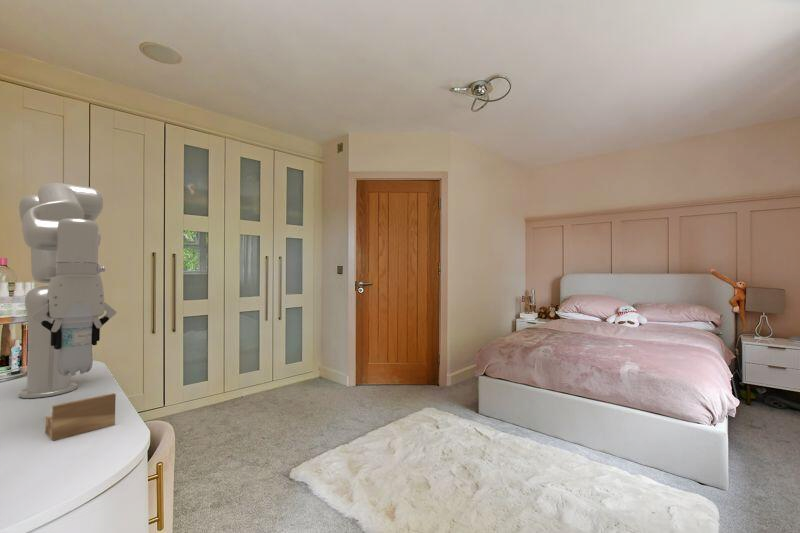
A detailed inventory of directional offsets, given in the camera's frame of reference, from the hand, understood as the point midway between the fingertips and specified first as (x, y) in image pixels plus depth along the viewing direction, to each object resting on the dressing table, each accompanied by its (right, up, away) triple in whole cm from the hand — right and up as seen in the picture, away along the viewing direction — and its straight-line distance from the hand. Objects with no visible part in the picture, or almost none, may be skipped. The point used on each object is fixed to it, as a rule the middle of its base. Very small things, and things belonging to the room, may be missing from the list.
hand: (75, 345), depth 88 cm
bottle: (0, -7, 0) cm, 7 cm away
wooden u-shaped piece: (+5, -18, -5) cm, 19 cm away
